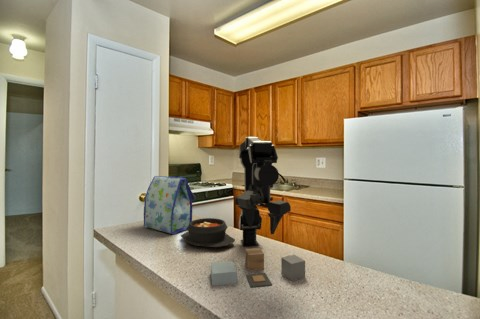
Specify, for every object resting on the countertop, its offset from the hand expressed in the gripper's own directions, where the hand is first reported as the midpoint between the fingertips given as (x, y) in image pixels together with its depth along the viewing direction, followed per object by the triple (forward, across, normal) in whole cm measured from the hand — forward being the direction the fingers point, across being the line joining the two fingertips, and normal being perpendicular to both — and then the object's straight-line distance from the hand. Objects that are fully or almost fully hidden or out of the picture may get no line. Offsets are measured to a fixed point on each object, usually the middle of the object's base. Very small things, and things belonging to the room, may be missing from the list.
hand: (260, 230), depth 77 cm
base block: (+13, -4, -12) cm, 18 cm away
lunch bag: (+14, -62, 0) cm, 64 cm away
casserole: (+14, -32, +2) cm, 35 cm away
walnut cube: (+13, -3, 0) cm, 13 cm away
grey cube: (+12, +9, +4) cm, 16 cm away
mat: (+12, +4, -6) cm, 14 cm away
